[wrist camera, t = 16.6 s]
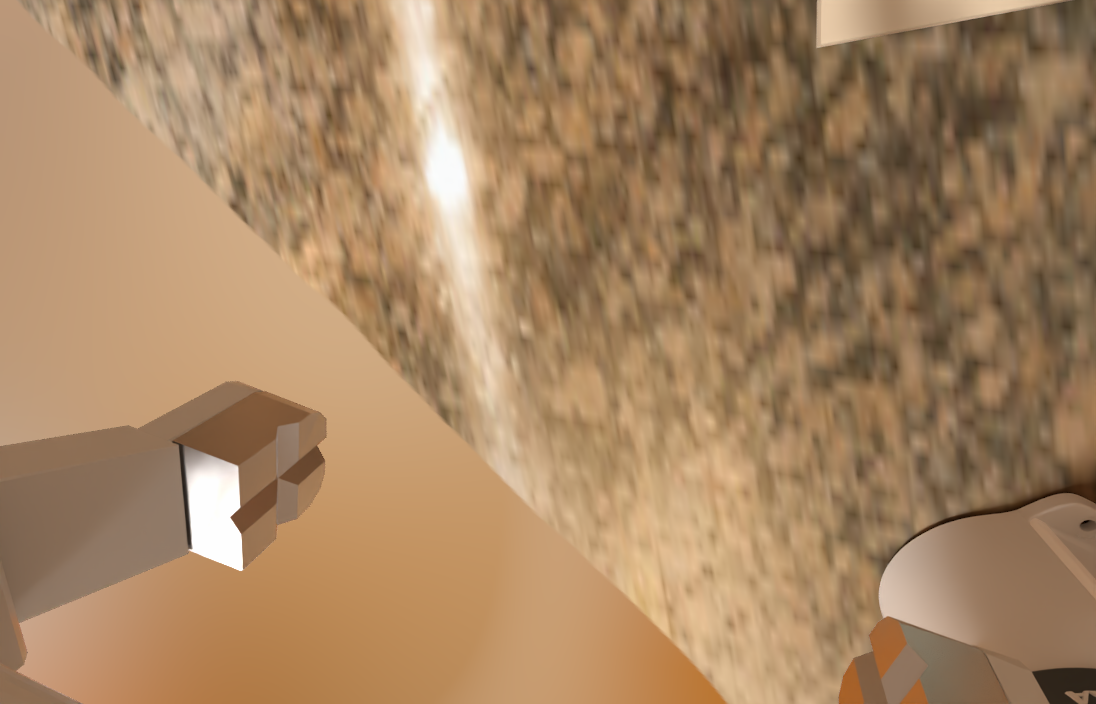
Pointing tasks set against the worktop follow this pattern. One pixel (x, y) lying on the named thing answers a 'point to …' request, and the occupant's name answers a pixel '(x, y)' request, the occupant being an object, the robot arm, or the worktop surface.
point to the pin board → (902, 15)
